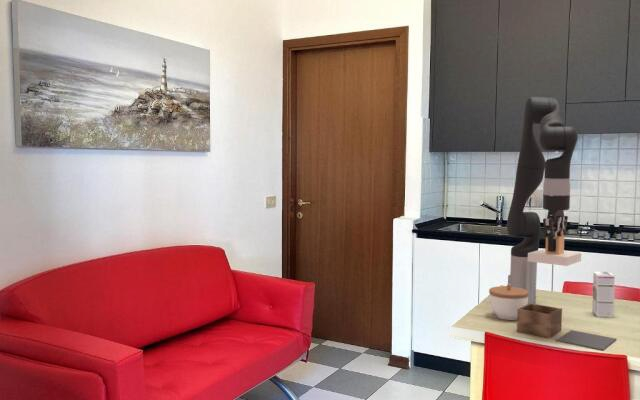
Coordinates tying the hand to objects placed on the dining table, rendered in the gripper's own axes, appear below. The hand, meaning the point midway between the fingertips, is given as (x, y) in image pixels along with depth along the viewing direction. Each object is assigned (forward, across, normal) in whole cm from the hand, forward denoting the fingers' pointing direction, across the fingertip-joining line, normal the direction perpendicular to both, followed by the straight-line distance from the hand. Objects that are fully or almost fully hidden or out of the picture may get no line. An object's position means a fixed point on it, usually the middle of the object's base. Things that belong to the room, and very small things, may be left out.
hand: (554, 250), depth 182 cm
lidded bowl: (+26, -9, -18) cm, 33 cm away
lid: (+3, 0, 0) cm, 3 cm away
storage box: (+26, 0, -4) cm, 26 cm away
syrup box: (+26, -34, +4) cm, 42 cm away
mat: (+26, -1, +10) cm, 28 cm away
